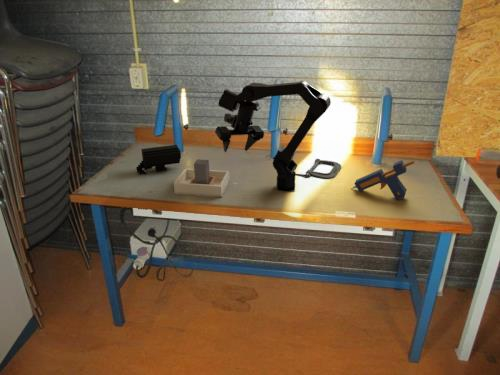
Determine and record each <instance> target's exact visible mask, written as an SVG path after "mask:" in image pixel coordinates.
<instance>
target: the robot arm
mask: <svg viewBox="0 0 500 375" xmlns="http://www.w3.org/2000/svg"><path fill="white" fill-rule="evenodd" d="M291 95H298V96H299V97H301V99H302V100H303V101H304V102H305V103H306V104H307V105H308V108H307V112H306V115H305V117H304V119H303V120H302V122H301V123H300V125H299V127H298V128H297V129H296V131H295V133H294V134H293V136H292V138H291V139H290V141H289V142H288V144H287V145H286V146H284V145H281V147H279V148H278V150H277V152H276V154H274V156H273V157H272V160H273V161H272V167H273V168H274V170H275V171H276V174H277V176H276V187H277V191H283V192H295V191H296V189H295V188H296V175H295V174H297V173H296V169H297V168H298V164H297V162H296V161H294V160H293V159H294V156H295V154H296V151H297V149H298V148H299V146H300V145H301V144H302V142H303V140H305V137H306V136H307V134H308V133H309V131H310V129H311V128H312V127H313V126H314V124H315V123H316V122H317V121H318V120H319V119H320V118H321V117H322V116H323V114H325V112H326V111H327V110H328V109H329V107H330V106H331V102H332V101H331V98H330V97H329V95H328V94H326V93H322V92H321V91H319V90H318V89H317V88H315V87H313V86H312V85H311V84H309V83H308V82H307V81H305V80H300V81H294V82H283V83H273V84H266V83H262V82H261V83H260V82H250V83H249V84H247V85H245V86H244V87H243V88H242V90H241V92H240V93H235V92H233V91H231V90H229V89H227V88H226V89H224V90H223V93H222V95H221V96H220V98H219V99H218V106H219V108H222V109H225V110H227V111H229V112H232V113H234V112H235V111H237V112H236V113H237V114H231V113H224V116H223V122H225V123H227V124H228V125H230V127H231V128H232V129H229V128H228V127H227V126H222V125H221V126H217V127H216V128H215V131H214V132H215V135H216V136H217V137H218V139H219V140H220V141H222V145H223V152H224V153H227V151H228V149H229V146H230V144H231V139H232V136H245V135H247V139H246V142H245V146H244V150H245V152H247V151H249V149H250V148H251V147H252V146H253V145H254V144H256V143H257V142H258V141H260V140H261V139H262V140H263V139H264V136H265V132H264V130H263V129H262V127H261V126H260V125H253V124H254V123H253V121H252V120H253V117H254V112H258V111H259V110H261V108H262V107H261V105H260V104H259V102H258V100H262V99H264V98H269V97H279V96H291ZM255 101H256V102H255Z"/></svg>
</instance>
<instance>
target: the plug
mask: <svg viewBox="0 0 500 375" xmlns="http://www.w3.org/2000/svg"><path fill="white" fill-rule="evenodd" d="M193 169H194V171H195V184H210V174H209V170H210V161H209V159H199V158H198V159H196V160H195V162H194V163H193Z"/></svg>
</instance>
